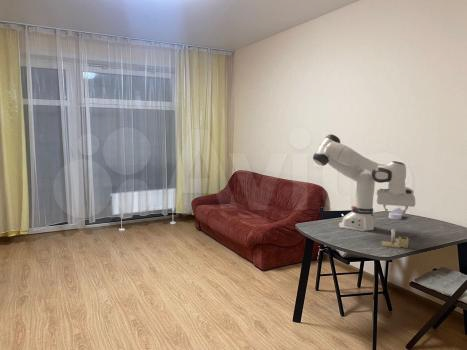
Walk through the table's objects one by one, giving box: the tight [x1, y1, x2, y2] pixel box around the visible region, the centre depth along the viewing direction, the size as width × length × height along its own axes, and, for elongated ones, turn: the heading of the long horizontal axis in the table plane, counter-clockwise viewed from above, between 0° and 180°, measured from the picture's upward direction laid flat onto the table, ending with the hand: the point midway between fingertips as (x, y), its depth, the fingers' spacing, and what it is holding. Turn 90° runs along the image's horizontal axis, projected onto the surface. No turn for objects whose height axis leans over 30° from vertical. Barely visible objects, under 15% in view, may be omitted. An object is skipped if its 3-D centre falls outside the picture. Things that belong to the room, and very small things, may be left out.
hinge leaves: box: [381, 236, 409, 249], centre depth 203 cm, size 14×14×5 cm
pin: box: [390, 228, 396, 242], centre depth 204 cm, size 2×2×8 cm
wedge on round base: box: [388, 207, 403, 220], centre depth 265 cm, size 9×7×13 cm
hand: (394, 212), depth 202 cm, fingers open, 8 cm apart
